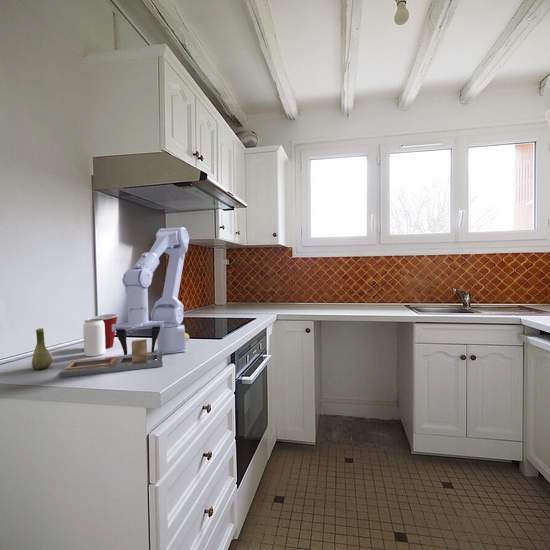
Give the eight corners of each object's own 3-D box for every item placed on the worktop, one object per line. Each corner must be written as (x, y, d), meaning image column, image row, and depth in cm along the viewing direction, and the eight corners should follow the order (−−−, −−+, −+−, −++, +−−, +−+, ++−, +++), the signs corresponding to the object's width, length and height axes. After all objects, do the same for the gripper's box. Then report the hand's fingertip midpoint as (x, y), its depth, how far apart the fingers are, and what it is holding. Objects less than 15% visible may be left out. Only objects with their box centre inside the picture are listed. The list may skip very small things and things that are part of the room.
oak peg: (147, 361, 104) (146, 339, 104) (146, 364, 100) (145, 341, 100) (133, 362, 103) (132, 340, 103) (132, 366, 99) (131, 343, 99)
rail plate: (162, 356, 110) (162, 351, 109) (162, 366, 98) (162, 360, 98) (72, 365, 101) (71, 360, 101) (60, 377, 90) (60, 371, 90)
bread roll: (174, 344, 129) (173, 334, 129) (164, 341, 136) (164, 331, 136) (193, 340, 135) (193, 330, 135) (183, 337, 141) (182, 328, 141)
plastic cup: (84, 347, 126) (83, 315, 126) (115, 342, 133) (114, 312, 133) (91, 352, 118) (89, 318, 118) (123, 347, 125) (122, 315, 125)
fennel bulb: (37, 366, 102) (36, 327, 102) (55, 364, 103) (54, 326, 103) (28, 371, 96) (26, 330, 96) (47, 370, 97) (45, 329, 97)
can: (96, 357, 111) (95, 321, 111) (79, 356, 112) (78, 321, 112) (109, 352, 117) (108, 318, 117) (93, 352, 119) (92, 318, 118)
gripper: (109, 311, 95) (111, 358, 96) (163, 308, 100) (164, 353, 100) (113, 308, 102) (114, 353, 102) (163, 306, 107) (164, 348, 107)
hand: (139, 353), depth 102 cm, fingers open, 7 cm apart
